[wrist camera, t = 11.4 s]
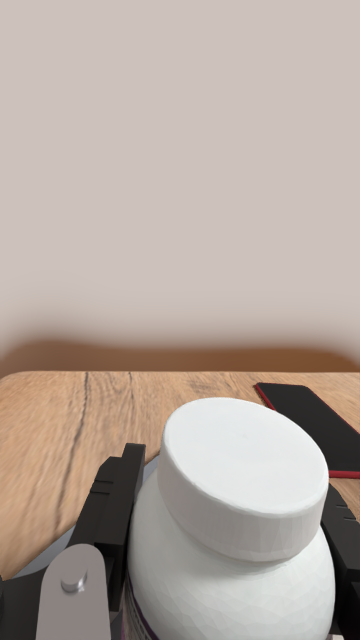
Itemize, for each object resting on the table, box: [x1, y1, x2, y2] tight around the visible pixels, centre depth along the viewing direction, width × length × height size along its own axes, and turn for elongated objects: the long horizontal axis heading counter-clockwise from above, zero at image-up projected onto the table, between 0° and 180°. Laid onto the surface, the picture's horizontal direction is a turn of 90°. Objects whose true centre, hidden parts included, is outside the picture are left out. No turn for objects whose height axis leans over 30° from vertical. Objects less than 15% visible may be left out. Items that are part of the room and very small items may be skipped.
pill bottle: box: [121, 397, 335, 640], centre depth 8 cm, size 5×5×10 cm
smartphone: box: [255, 382, 360, 479], centre depth 27 cm, size 7×1×15 cm
